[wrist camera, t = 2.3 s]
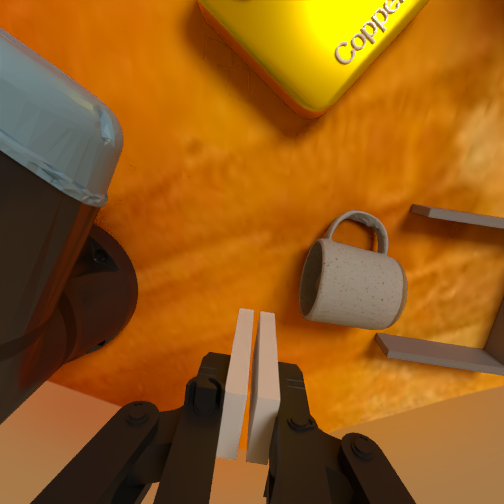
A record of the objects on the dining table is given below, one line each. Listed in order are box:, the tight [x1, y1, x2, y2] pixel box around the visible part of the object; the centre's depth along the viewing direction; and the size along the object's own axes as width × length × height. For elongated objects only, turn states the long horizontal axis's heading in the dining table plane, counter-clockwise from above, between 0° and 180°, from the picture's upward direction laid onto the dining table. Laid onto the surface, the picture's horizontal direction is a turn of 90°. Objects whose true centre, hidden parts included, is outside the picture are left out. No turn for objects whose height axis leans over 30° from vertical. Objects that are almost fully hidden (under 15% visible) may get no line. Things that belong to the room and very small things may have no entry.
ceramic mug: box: [299, 210, 407, 330], centre depth 29 cm, size 11×8×8 cm
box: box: [375, 204, 504, 376], centre depth 31 cm, size 13×15×4 cm
